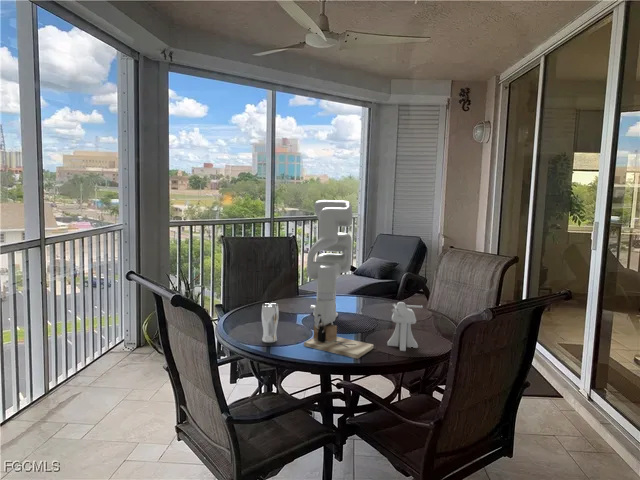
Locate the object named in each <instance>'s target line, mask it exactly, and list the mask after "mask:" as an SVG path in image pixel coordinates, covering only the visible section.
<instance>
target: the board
mask: <svg viewBox="0 0 640 480" xmlns="http://www.w3.org/2000/svg"><path fill="white" fill-rule="evenodd" d="M313 338H314V337H312V338H310V339H308V340H306V341H304V342H303V347H308V348H311V349H316V350H319V351H325V352H329V353H333V354H337V355H339V356H340V355H341V356H345V357H348V358H352V359H359V358H361V357H362V356H364V355H366V354H367V353H369V352H370V351H372V350H373V349H374V348H375V347H374V344H373V343H367V342H364V341H359V340H354V339H349V338H344V337H340V336H337V340H336V341H334V342H332V343H326V342H321V341H317V340H313Z"/></svg>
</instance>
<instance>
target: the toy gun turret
mask: <svg viewBox="0 0 640 480" xmlns="http://www.w3.org/2000/svg"><path fill="white" fill-rule="evenodd" d="M392 307H394V308H392V309H391V310H390V311H391V312H392V316H391V321H392V322H393V323H395V329H394V330H393V333H392V334H391V336H390V338H389V340H387V342H386V343H387V345H386V346H388V347H389V346H390V347H399V351H401V352H406V350H407V348H411V347H413V348H415V349H418V348H419V345H418V344H419V343H418V342H417V341H416V340H415V337H414V336H413V333H412V328H411V327H412V325H415V324H416V323H417V317H416V315H415V311H413V309H412V308H420V309H423V307H424V306H423V305H414V304H413V305H412V304H406V303H405V302H403V301H399V302H397V304H396V303H395V302H394V303H392Z"/></svg>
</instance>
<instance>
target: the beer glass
mask: <svg viewBox="0 0 640 480" xmlns="http://www.w3.org/2000/svg"><path fill="white" fill-rule="evenodd" d="M279 314H280V312H279V303H275V302H268V303H267V302H266V303H262V306H261V324H262V330H263V331H262V332H263V333H262V334H263V335H262V338H261V340H262V342H263V343H267V344H272V343H273V344H274V343H276V342H277V341H278V338H277V328H278V323H279V316H280V315H279Z"/></svg>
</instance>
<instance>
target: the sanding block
mask: <svg viewBox="0 0 640 480" xmlns="http://www.w3.org/2000/svg"><path fill="white" fill-rule="evenodd" d="M321 324H323V323H321ZM321 327H322V329H323V326H321ZM325 332H326V335H325V342H326V343H332V342H334V341H336V340H337V337H338V325H335V324H333V325H331V324H327V325H326V326H325ZM312 338H313V340H317V341H318V331H317V328H316V327H315V324H313V337H312Z"/></svg>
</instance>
